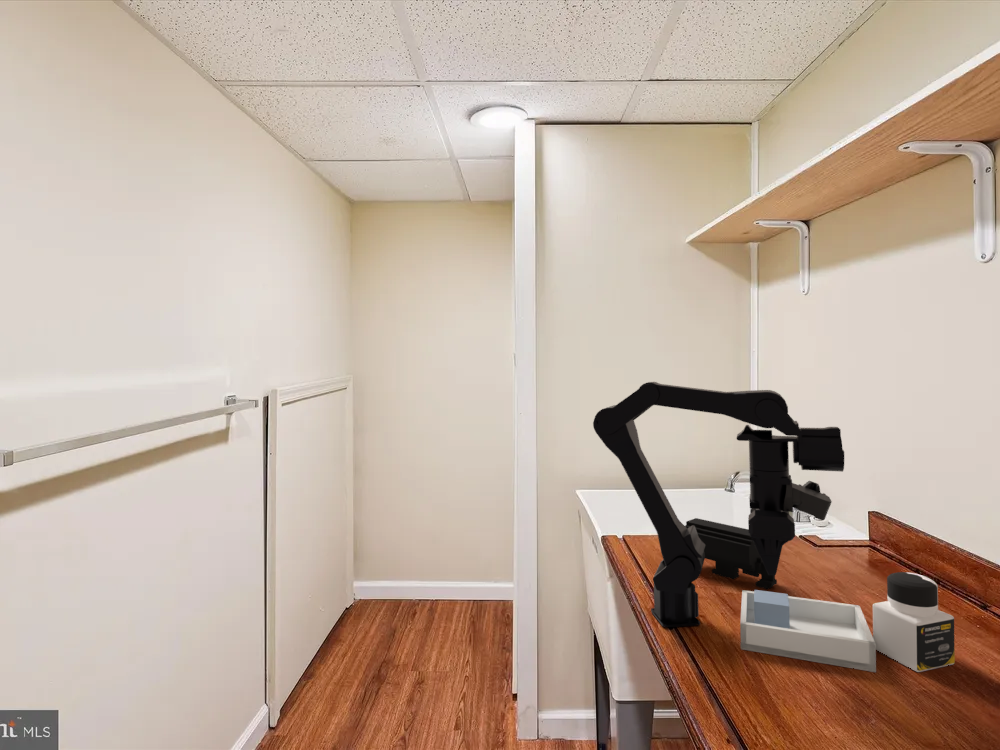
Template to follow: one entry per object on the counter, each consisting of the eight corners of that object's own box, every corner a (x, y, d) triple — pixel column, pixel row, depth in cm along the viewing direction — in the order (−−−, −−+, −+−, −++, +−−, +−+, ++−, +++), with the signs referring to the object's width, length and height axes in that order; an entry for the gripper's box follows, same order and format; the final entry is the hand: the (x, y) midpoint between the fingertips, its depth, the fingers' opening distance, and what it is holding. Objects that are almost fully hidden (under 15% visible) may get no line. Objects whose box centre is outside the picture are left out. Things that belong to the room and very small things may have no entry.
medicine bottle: (918, 673, 79) (917, 589, 78) (872, 649, 86) (871, 571, 85) (956, 665, 81) (955, 582, 80) (907, 641, 87) (907, 565, 87)
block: (789, 638, 88) (789, 606, 87) (754, 632, 90) (754, 601, 90) (788, 624, 92) (787, 594, 92) (754, 619, 94) (754, 589, 94)
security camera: (765, 594, 106) (765, 541, 106) (679, 568, 121) (679, 522, 120) (782, 584, 111) (781, 534, 111) (697, 560, 125) (696, 516, 125)
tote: (740, 649, 87) (740, 623, 86) (742, 612, 99) (742, 590, 99) (876, 672, 79) (875, 644, 79) (859, 629, 92) (859, 605, 91)
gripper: (834, 483, 78) (836, 593, 79) (820, 460, 95) (822, 551, 96) (747, 478, 83) (749, 583, 83) (748, 458, 100) (751, 544, 100)
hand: (771, 564), depth 91 cm, fingers open, 9 cm apart
